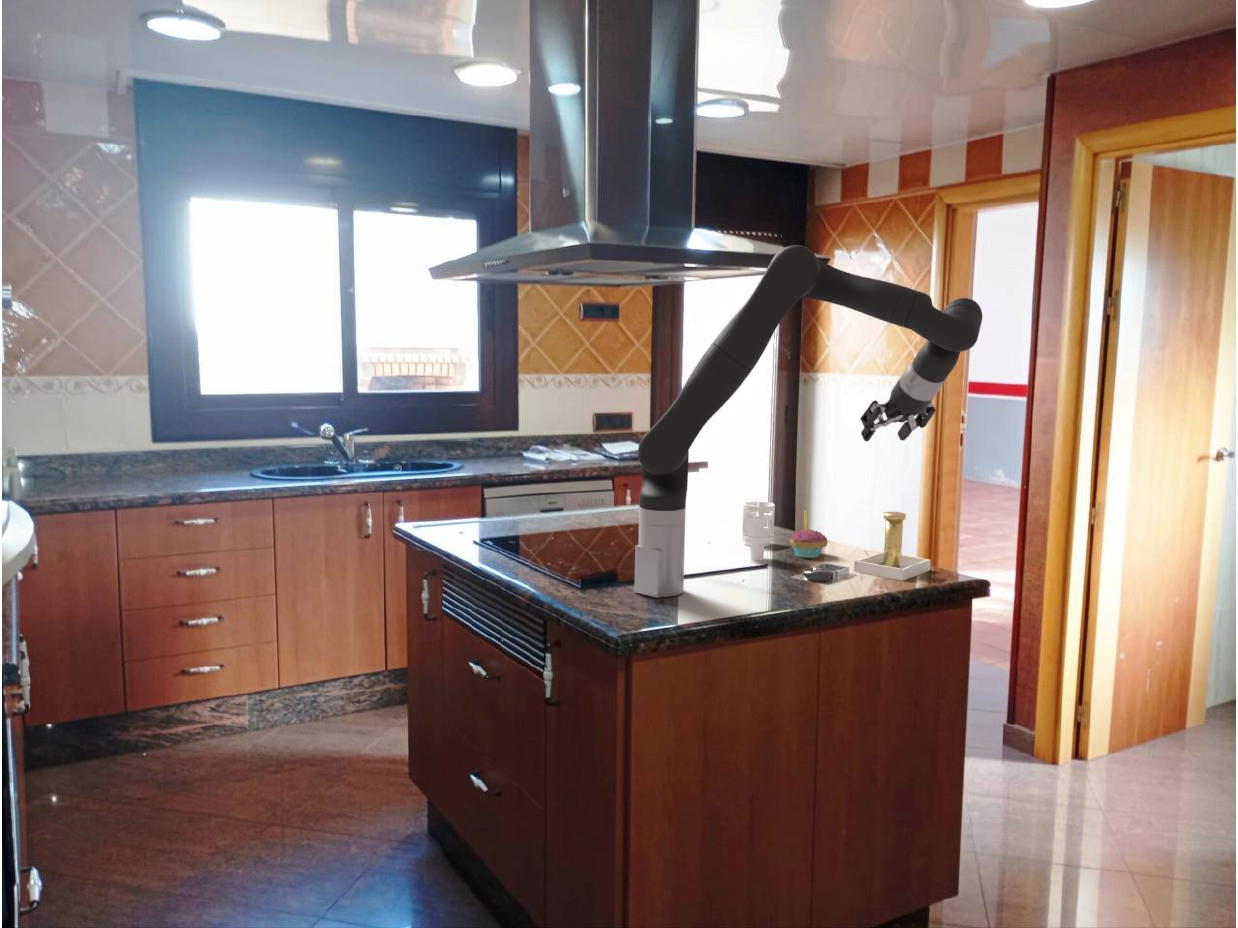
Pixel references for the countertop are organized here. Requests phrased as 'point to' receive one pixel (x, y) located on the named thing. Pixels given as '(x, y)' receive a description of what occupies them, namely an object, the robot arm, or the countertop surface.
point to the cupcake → (808, 541)
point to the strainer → (757, 526)
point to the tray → (912, 567)
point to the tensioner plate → (835, 573)
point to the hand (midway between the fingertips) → (882, 437)
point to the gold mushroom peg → (893, 538)
